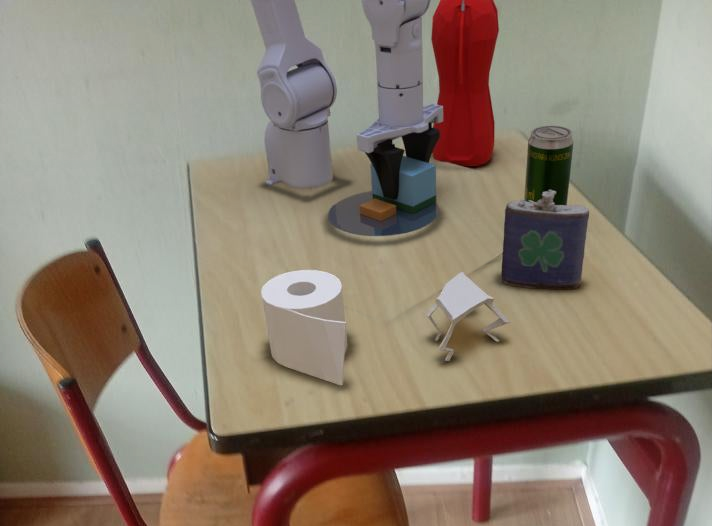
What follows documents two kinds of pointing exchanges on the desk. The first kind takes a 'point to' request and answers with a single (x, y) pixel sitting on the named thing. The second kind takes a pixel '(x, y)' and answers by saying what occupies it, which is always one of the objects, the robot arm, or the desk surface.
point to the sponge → (410, 185)
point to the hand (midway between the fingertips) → (403, 191)
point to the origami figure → (463, 306)
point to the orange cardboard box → (378, 209)
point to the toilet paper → (307, 323)
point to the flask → (544, 243)
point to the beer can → (549, 163)
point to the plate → (351, 220)
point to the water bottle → (465, 79)
